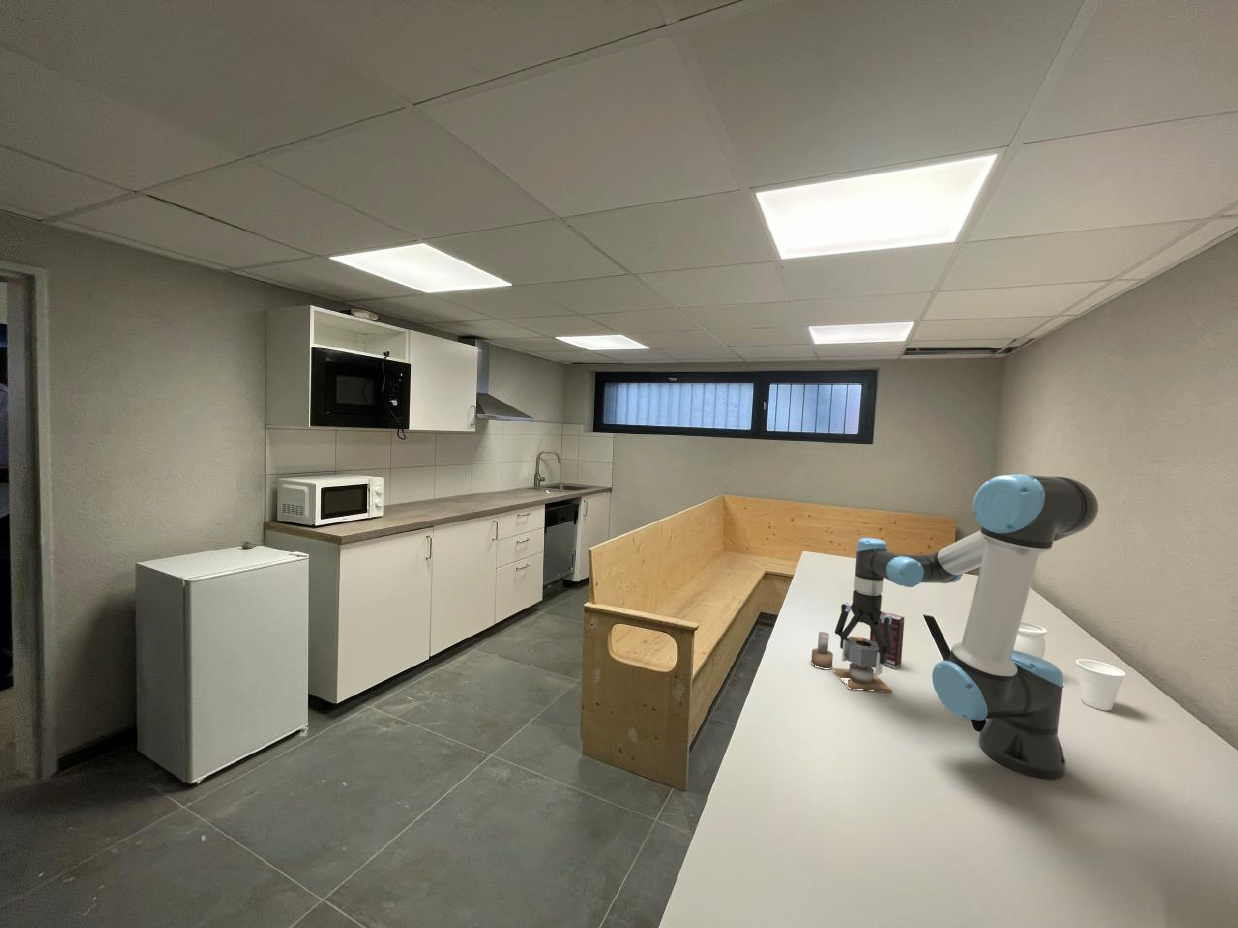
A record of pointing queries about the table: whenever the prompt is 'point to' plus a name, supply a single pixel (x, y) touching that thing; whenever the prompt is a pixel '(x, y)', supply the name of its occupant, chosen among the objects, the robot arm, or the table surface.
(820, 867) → the table surface
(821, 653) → the stand
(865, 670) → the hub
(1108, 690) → the cup
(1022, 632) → the jar
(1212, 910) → the table surface
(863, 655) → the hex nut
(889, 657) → the supplement box
